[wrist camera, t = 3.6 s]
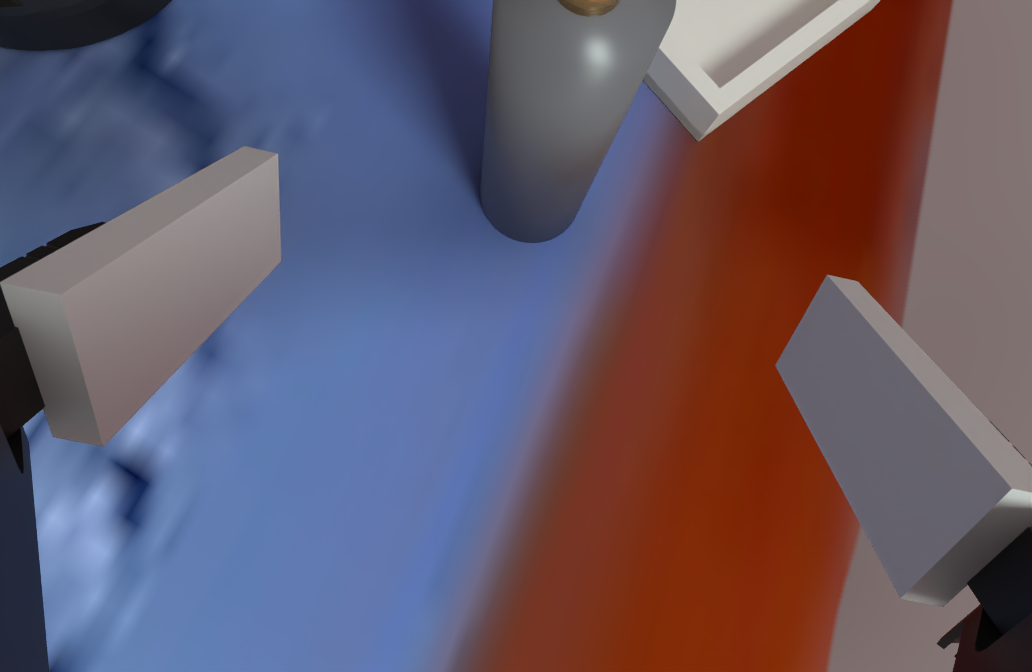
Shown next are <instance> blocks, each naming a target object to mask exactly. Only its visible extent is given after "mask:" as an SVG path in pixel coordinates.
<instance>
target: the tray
mask: <svg viewBox="0 0 1032 672" xmlns="http://www.w3.org/2000/svg"><path fill="white" fill-rule="evenodd" d="M879 1H880V0H676V8H675V12H674V16H673V19H672V21H671V23H670V26H669V28H668V30H667V32H666V34H665V36H664V38H663V40H662V42H661V44H660V46H659V48H658V50H657V52H656V54H655V56H654V58H653V60H652V62H651V64H650V66H649V68H648V70H647V72H646V74H645V76H644V79H643V81H644V82H645V83H646V84H647V85H648V86H649V87H650V89H651V90H652V91H653V92H654V93H655V94H656V95H657V96H658V98H659V99H660V100H661V101H662V102H663V103H664V104H665V105H666V107H667V108H668V109H669V110H670V111H671V112H672V113H673V114H674V116H675V117H676V118H677V119H678V120H679V121H680V122H681V123H682V125H683V126H684V127H685V128H686V129H687V130H688V131H689V132H690V134H691V135H692V136H693V137H694V138H695V139H696V140H697V141H698V142H699V141H700V140H701V139H703V138H704V137H705V136H706V135H708V134H709V133H710V132H712V131H713V130H714V129H716V128H717V127H718V126H720V125H721V124H722V123H724V122H725V121H726V120H727V119H729V118H730V117H731V116H733V115H734V114H735V113H737V112H738V111H739V110H741V109H742V108H743V107H745V106H746V105H747V104H748V103H750V102H751V101H752V100H754V99H755V98H756V97H758V96H759V95H760V94H762V93H763V92H764V91H766V90H767V89H768V88H769V87H771V86H772V85H773V84H775V83H776V82H777V81H779V80H780V79H781V78H783V77H784V76H785V75H787V74H788V73H789V72H790V71H792V70H793V69H794V68H796V67H797V66H798V65H800V64H801V63H802V62H804V61H805V60H806V59H807V58H809V57H810V56H811V55H813V54H814V53H815V52H817V51H818V50H819V49H821V48H822V47H823V46H825V45H826V44H827V43H828V42H830V41H831V40H832V39H834V38H835V37H836V36H838V35H839V34H840V33H842V32H843V31H844V30H846V29H847V28H848V27H849V26H851V25H852V24H853V23H855V22H856V21H857V20H859V19H860V18H861V17H863V16H864V15H865V14H867V13H868V12H869V11H870V10H872V9H873V8H874V7H875V6H876V5H877V3H878V2H879Z"/></svg>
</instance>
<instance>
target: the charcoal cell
mask: <svg viewBox="0 0 1032 672" xmlns="http://www.w3.org/2000/svg"><path fill="white" fill-rule="evenodd" d="M675 8H676V0H493V13H492V27H491V42H490V56H489V71H488V85H487V100H486V114H485V129H484V143H483V158H482V172H481V187H480V199H481V205H482V208H483V211H484V213H485V215H486V217H487V219H488V220H489V221H490V223H491V224H492V225H493V226H494V227H495V228H496V229H497V230H498V231H499V232H500V233H502V234H504V235H505V236H507V237H509V238H511V239H514V240H517V241H520V242H526V243H539V242H544V241H547V240H550V239H553V238H555V237H557V236H558V235H560V234H561V233H563V232H564V231H565V230H566V229H567V228H568V227H569V226H570V225H571V223H572V222H573V220H574V219H575V217H576V215H577V212H578V210H579V208H580V206H581V204H582V202H583V200H584V198H585V196H586V194H587V192H588V190H589V188H590V186H591V184H592V182H593V180H594V178H595V176H596V174H597V172H598V170H599V168H600V166H601V164H602V162H603V160H604V158H605V156H606V154H607V152H608V150H609V148H610V145H611V143H612V141H613V139H614V137H615V135H616V133H617V131H618V129H619V127H620V125H621V123H622V121H623V119H624V117H625V115H626V113H627V111H628V109H629V107H630V105H631V103H632V101H633V99H634V97H635V95H636V93H637V91H638V89H639V87H640V85H641V83H642V81H643V79H644V76H645V74H646V72H647V70H648V68H649V66H650V64H651V62H652V60H653V58H654V56H655V54H656V52H657V50H658V48H659V46H660V44H661V42H662V40H663V38H664V36H665V34H666V32H667V30H668V28H669V26H670V23H671V21H672V19H673V16H674V12H675Z"/></svg>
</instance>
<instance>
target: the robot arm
mask: <svg viewBox="0 0 1032 672" xmlns="http://www.w3.org/2000/svg"><path fill="white" fill-rule="evenodd" d="M171 1H172V0H0V47H4V48H11V49H19V50H37V51H44V50H60V49H69V48H75V47H81V46H85V45H89V44H93V43H97V42H100V41H104V40H106V39H109V38H112V37H115V36H117V35H119V34H122V33H124V32H126V31H128V30H130V29H132V28H134V27H136V26H138V25H140V24H141V23H143V22H145V21H146V20H148V19H149V18H151V17H152V16H154V15H155V14H156V13H158V12H159V11H160V10H161V9H163V8H164V7H165V6H166V5H167V4H168V3H169V2H171ZM280 262H281V234H280V201H279V169H278V153H273V152H269V151H264V150H260V149H255V148H251V147H246V146H243V147H242V148H240V149H238V150H236V151H234V152H233V153H231V154H229V155H227V156H225V157H224V158H222V159H220V160H218V161H216V162H215V163H213V164H211V165H209V166H207V167H206V168H204V169H202V170H200V171H199V172H197V173H195V174H193V175H191V176H190V177H188V178H186V179H184V180H182V181H181V182H179V183H177V184H175V185H173V186H172V187H170V188H168V189H166V190H164V191H163V192H161V193H159V194H157V195H155V196H154V197H152V198H150V199H148V200H147V201H145V202H143V203H141V204H139V205H138V206H136V207H134V208H132V209H130V210H129V211H127V212H125V213H123V214H121V215H120V216H118V217H116V218H114V219H112V220H111V221H109V222H107V223H105V222H100V223H97V224H93V225H89V226H85V227H82V228H78V229H74V230H70V231H69V232H67V233H65V234H63V235H61V236H59V237H57V238H55V239H53V240H52V241H50V242H48V243H47V245H46V247H45V246H40V247H38V248H37V249H35V250H33V251H31V252H29V253H27V256H26V257H20V258H18V259H16V260H14V261H12V262H10V263H8V264H7V265H5V266H3V267H1V268H0V672H49V665H48V654H47V642H46V631H45V620H44V608H43V597H42V586H41V574H40V563H39V552H38V541H37V529H36V518H35V507H34V495H33V484H32V473H31V461H30V450H29V441H28V439H27V436H26V434H25V431H24V428H23V425H24V424H25V423H26V422H28V421H29V420H30V419H31V418H32V417H34V416H35V415H36V414H37V413H38V412H39V411H41V410H42V409H44V412H45V415H46V418H47V421H48V424H49V427H50V430H51V433H52V435H53V437H56V438H61V439H66V440H71V441H76V442H82V443H87V444H92V445H97V446H103V447H104V446H105V444H106V443H107V442H108V441H109V440H110V439H111V438H112V437H113V436H114V435H115V434H116V433H117V432H118V431H119V430H120V429H121V428H122V427H123V426H124V425H125V424H126V423H127V422H128V421H129V419H130V418H131V417H132V416H133V415H134V414H135V413H136V412H137V411H138V410H139V409H140V408H141V407H142V406H143V405H144V404H145V403H146V402H147V401H148V400H149V399H150V398H151V397H152V396H153V394H154V393H155V392H156V391H157V390H158V389H159V388H160V387H161V386H162V385H163V384H164V383H165V382H166V381H167V380H168V379H169V378H170V377H171V376H172V375H173V374H174V373H175V372H176V371H177V369H178V368H179V367H180V366H181V365H182V364H183V363H184V362H185V361H186V360H187V359H188V358H189V357H190V356H191V355H192V354H193V353H194V352H195V351H196V350H197V349H198V348H199V347H200V346H201V344H202V343H203V342H204V341H205V340H206V339H207V338H208V337H209V336H210V335H211V334H212V333H213V332H214V331H215V330H216V329H217V328H218V327H219V326H220V325H221V324H222V323H223V322H224V321H225V319H226V318H227V317H228V316H229V315H230V314H231V313H232V312H233V311H234V310H235V309H236V308H237V307H238V306H239V305H240V304H241V303H242V302H243V301H244V300H245V299H246V298H247V297H248V296H249V294H250V293H251V292H252V291H253V290H254V289H255V288H256V287H257V286H258V285H259V284H260V283H261V282H262V281H263V280H264V279H265V278H266V277H267V276H268V275H269V274H270V273H271V272H272V271H273V269H274V268H275V267H276V266H277V265H278V264H279V263H280ZM775 366H776V368H777V369H778V371H779V373H780V375H781V377H782V379H783V381H784V383H785V384H786V386H787V388H788V390H789V392H790V394H791V396H792V397H793V399H794V401H795V403H796V405H797V407H798V409H799V410H800V412H801V414H802V416H803V418H804V420H805V422H806V424H807V425H808V427H809V429H810V431H811V433H812V435H813V437H814V438H815V440H816V442H817V444H818V446H819V448H820V450H821V451H822V453H823V455H824V457H825V459H826V461H827V463H828V465H829V466H830V468H831V470H832V472H833V474H834V476H835V478H836V479H837V481H838V483H839V485H840V487H841V489H842V491H843V492H844V494H845V496H846V498H847V500H848V502H849V504H850V506H851V507H852V509H853V511H854V513H855V515H856V517H857V519H858V520H859V522H860V524H861V526H862V528H863V530H864V532H865V533H866V535H867V537H868V539H869V541H870V543H871V544H872V547H873V548H874V550H875V552H876V554H877V556H878V558H879V560H880V561H881V563H882V565H883V567H884V569H885V571H886V572H887V574H888V576H889V578H890V580H891V582H892V584H893V586H894V587H895V589H896V591H897V593H898V595H899V597H900V598H901V599H906V600H911V601H916V602H921V603H927V604H932V605H937V606H945V605H946V604H947V603H948V602H949V601H950V600H951V599H952V598H954V597H955V596H956V595H957V594H958V593H959V592H960V591H961V590H962V589H963V588H965V587H966V586H967V585H968V586H969V587H970V589H971V590H972V592H973V593H974V595H975V596H976V598H977V599H978V601H979V602H980V605H979V606H978V607H977V608H976V609H974V610H973V611H972V612H971V613H970V614H969V615H967V616H966V617H965V618H964V619H963V620H962V621H960V622H959V623H958V624H957V625H956V626H955V627H953V628H952V629H951V630H950V631H949V632H948V633H946V634H945V635H944V636H943V637H942V638H941V639H940V641H939V642H938V643H937V644H938V645H939V646H940V647H942V648H943V649H945V648H946V647H947V646H948V645H949V644H951V643H959V648H958V652H957V654H956V655H955V657H956V660H955V664H954V668H953V672H1032V465H1031V464H1030V463H1029V462H1027V461H1026V460H1025V458H1024V456H1023V455H1022V454H1021V453H1020V452H1019V451H1018V450H1017V449H1016V448H1015V447H1014V446H1013V445H1011V444H1010V443H1009V440H1007V438H1006V437H1004V435H1003V434H1002V433H1001V432H1000V431H999V430H998V429H997V428H996V427H995V426H994V425H993V424H992V422H991V421H989V420H988V419H987V418H986V417H985V416H984V415H983V414H982V413H981V412H980V411H979V410H978V409H977V408H976V407H975V406H974V405H973V403H972V402H971V401H970V400H969V399H968V398H967V397H966V396H965V395H964V394H963V393H962V392H961V391H960V390H959V389H958V387H956V386H955V384H954V383H953V382H952V381H951V380H950V379H949V378H948V377H947V376H946V375H945V374H944V373H943V372H942V371H941V369H940V368H938V366H937V365H936V364H935V363H934V362H933V361H932V360H931V359H930V358H929V357H928V356H927V355H926V354H925V352H924V351H923V350H922V349H921V348H920V347H919V346H918V345H917V344H916V343H915V342H914V341H913V340H912V339H911V338H910V337H909V336H908V335H907V334H906V332H905V331H904V330H903V329H902V328H901V327H900V326H899V325H898V324H897V323H896V322H895V321H894V320H893V319H892V318H891V316H890V315H889V314H888V313H887V312H886V311H885V310H884V309H883V308H882V307H881V306H880V305H879V304H878V303H877V302H876V301H875V299H874V298H873V297H872V296H871V295H870V294H869V293H868V292H867V291H866V290H865V289H864V288H863V287H862V286H861V285H860V284H859V283H858V281H853V280H849V279H844V278H840V277H835V276H830V275H827V276H826V278H825V279H824V281H823V283H822V285H821V286H820V288H819V290H818V292H817V293H816V295H815V297H814V299H813V300H812V302H811V304H810V306H809V307H808V309H807V311H806V313H805V314H804V316H803V318H802V320H801V321H800V323H799V325H798V327H797V328H796V330H795V332H794V334H793V335H792V337H791V339H790V341H789V342H788V344H787V346H786V348H785V349H784V351H783V353H782V355H781V356H780V358H779V360H778V362H777V363H776V365H775Z"/></svg>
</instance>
